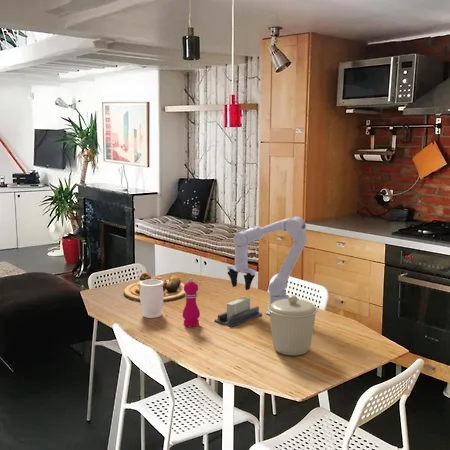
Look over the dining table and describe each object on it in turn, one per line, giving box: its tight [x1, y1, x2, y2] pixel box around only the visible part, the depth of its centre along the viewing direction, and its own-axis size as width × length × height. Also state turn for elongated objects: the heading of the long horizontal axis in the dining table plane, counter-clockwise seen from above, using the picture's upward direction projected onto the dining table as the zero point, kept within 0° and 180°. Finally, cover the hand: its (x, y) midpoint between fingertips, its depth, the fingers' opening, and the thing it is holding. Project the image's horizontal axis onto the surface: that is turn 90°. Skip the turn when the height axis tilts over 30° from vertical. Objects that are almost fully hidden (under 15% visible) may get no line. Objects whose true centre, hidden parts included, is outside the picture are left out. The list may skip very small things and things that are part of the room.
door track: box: [214, 305, 263, 328], centre depth 241 cm, size 20×10×3 cm, turn 139°
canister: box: [267, 294, 319, 357], centre depth 205 cm, size 18×18×21 cm
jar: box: [140, 278, 164, 319], centre depth 244 cm, size 11×10×15 cm
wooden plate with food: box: [123, 271, 186, 303], centre depth 278 cm, size 32×32×8 cm
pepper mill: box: [182, 277, 201, 328], centre depth 232 cm, size 7×7×20 cm
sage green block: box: [226, 296, 251, 318], centre depth 241 cm, size 12×4×7 cm, turn 139°
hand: (241, 287), depth 252 cm, fingers open, 7 cm apart
